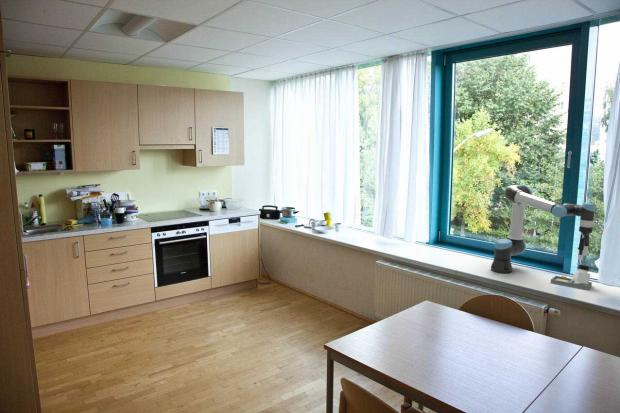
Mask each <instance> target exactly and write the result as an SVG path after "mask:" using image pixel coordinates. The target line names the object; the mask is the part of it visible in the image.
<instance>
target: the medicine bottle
mask: <svg viewBox="0 0 620 413" xmlns="http://www.w3.org/2000/svg"><path fill="white" fill-rule="evenodd" d="M589 271H590V266H588V265H584V264H578V267H577V270H574V272H573V276H572V279H573V281H575V282H579V283H583V284H588V283H589V282H590V278H591V273H589Z"/></svg>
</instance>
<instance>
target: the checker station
mask: <svg viewBox="0 0 620 413" xmlns="http://www.w3.org/2000/svg"><path fill="white" fill-rule="evenodd" d="M550 284H554V285H559V286H565V287H569V288H574V289H580V290H584V291H589V289H591V288H592V287H593V286H592V285H593V282H592V281H589V283H588V284H583V283H579V282H575V281H573V278H569V277H567V275H561V276H559V275H554V276H553V277H552V278H550Z"/></svg>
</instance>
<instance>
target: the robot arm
mask: <svg viewBox="0 0 620 413" xmlns="http://www.w3.org/2000/svg"><path fill="white" fill-rule="evenodd" d="M504 198H505V199H507V200H508V201H510V203H511V204H512V207H511V217H510V223H509V224H510V226H509V234H508V235H507V236H506V238H500V239H497V240H495V241H494V250H493V251H494V253H493V260H492V263H491V266H490V271H492V272H495V273H499V274H512V273H513V271H514V270H513V265H512V261H511V260H512V256H519V255H520V254H523V253H524V252H526V251H525V250H526V249H527V248H526V246H527V245H526V242H525V241H524V237H523V227H524V220H525V219H524V218H525V210H526V206H529V207H531V208H535V209H538V210H540V211H544V212H545V213H549V214H552V216H554V217H555V218H563V217H570V216H571V217H572V216H575V217H580V219H579V223H578V224H579V227H578V232H579V233H582V234H580V238H579V243H578V247H577V250H578V254H577V255H578V256H577V260H581V261H583V260H584V257H587V256H588V251H589V247H590V234H592V233H593V229H594V224H595V222H594V220H595V219H594V218H595V213H596V204H595V203H593V202H582V203H581V204H573V203H566V202H565V203H563V204H561V203H557V202H554V201H550V200H548V199H545V198H542V197H538V196H536V195H533V190H532V189H531V187H530V186H528V185H526V184H513V185H512V184H511V185H509V186H507V187H506V188H505V190H504Z"/></svg>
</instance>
